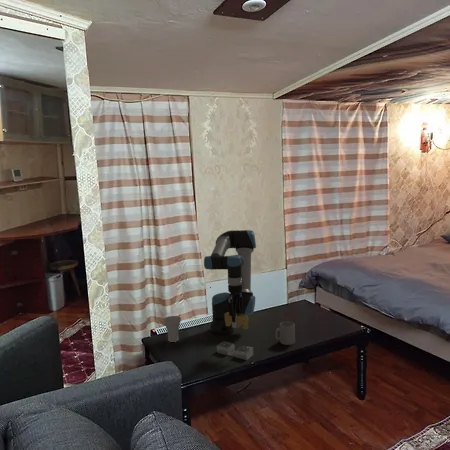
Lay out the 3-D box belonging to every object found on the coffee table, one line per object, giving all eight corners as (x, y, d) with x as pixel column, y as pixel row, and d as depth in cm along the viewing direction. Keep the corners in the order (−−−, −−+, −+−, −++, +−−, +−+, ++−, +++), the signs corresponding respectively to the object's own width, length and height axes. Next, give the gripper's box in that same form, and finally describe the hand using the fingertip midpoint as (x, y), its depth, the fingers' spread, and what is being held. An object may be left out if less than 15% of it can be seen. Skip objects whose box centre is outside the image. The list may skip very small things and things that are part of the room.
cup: (184, 337, 250) (183, 316, 248) (178, 345, 240) (177, 322, 238) (168, 336, 253) (167, 315, 251) (161, 343, 243) (160, 321, 241)
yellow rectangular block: (225, 325, 228) (224, 313, 227) (227, 324, 230) (227, 312, 229) (246, 329, 220) (245, 317, 220) (249, 328, 223) (248, 315, 222)
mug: (290, 338, 244) (289, 320, 242) (297, 343, 236) (297, 325, 234) (272, 341, 239) (271, 323, 238) (279, 347, 231) (279, 328, 230)
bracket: (217, 352, 228) (216, 345, 228) (224, 347, 234) (223, 341, 233) (246, 360, 218) (246, 353, 217) (253, 355, 224) (253, 348, 223)
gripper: (233, 288, 214) (234, 332, 217) (248, 281, 227) (249, 322, 230) (221, 287, 218) (222, 330, 221) (236, 280, 231) (238, 320, 234)
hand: (236, 326), depth 225 cm, fingers closed on yellow rectangular block, 3 cm apart
